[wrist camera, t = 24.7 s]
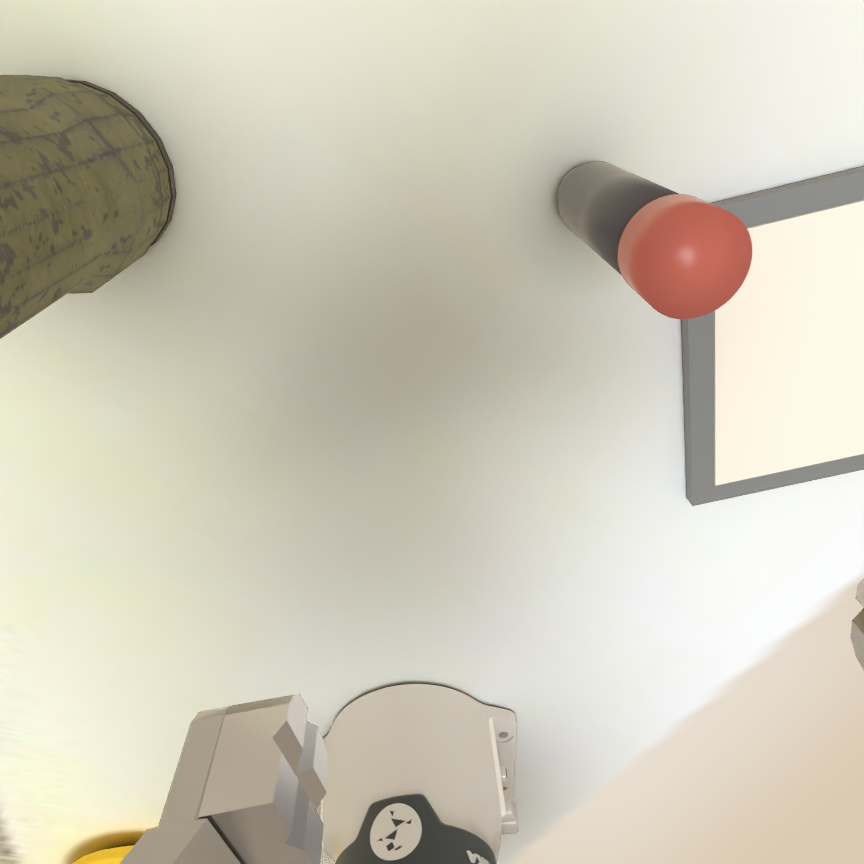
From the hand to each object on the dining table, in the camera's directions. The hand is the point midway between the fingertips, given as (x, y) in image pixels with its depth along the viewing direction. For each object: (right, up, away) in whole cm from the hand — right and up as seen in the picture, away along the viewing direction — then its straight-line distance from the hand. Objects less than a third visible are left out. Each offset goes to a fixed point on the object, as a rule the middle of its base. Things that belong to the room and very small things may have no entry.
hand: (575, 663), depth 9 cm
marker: (+6, +16, +25) cm, 30 cm away
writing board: (+21, +9, +30) cm, 38 cm away
